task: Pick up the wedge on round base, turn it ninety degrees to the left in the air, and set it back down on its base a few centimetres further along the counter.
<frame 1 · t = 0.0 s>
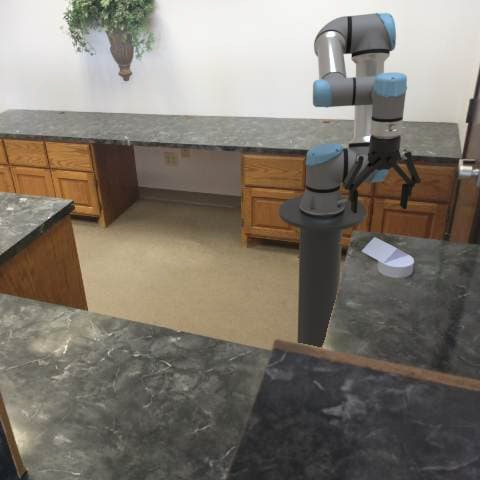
hand: (378, 209, 143), 15 cm above the counter, tool pointing down, fingers open, 13 cm apart
wedge on round base: (389, 267, 144), on the counter
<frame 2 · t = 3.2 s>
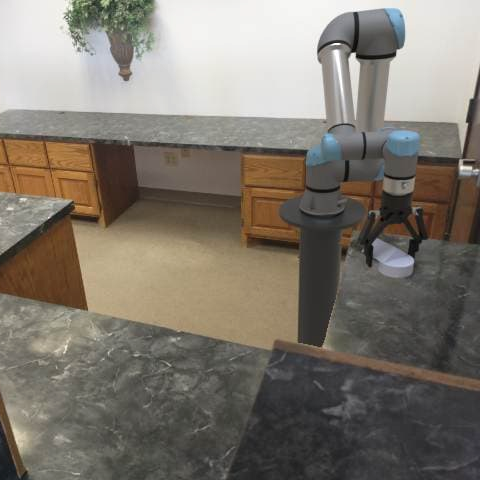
hand: (389, 263, 144), 1 cm above the counter, tool pointing down, fingers closed on wedge on round base, 11 cm apart
wedge on round base: (389, 267, 144), on the counter, touching gripper
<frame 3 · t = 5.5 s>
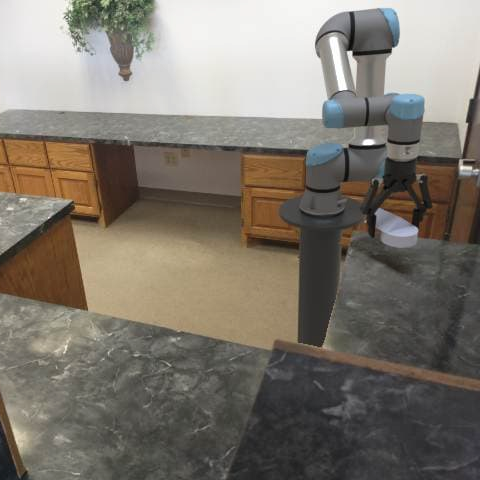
hand: (392, 233, 140), 10 cm above the counter, tool pointing down, fingers closed on wedge on round base, 11 cm apart
wedge on round base: (392, 237, 141), point 9 cm above the counter, touching gripper
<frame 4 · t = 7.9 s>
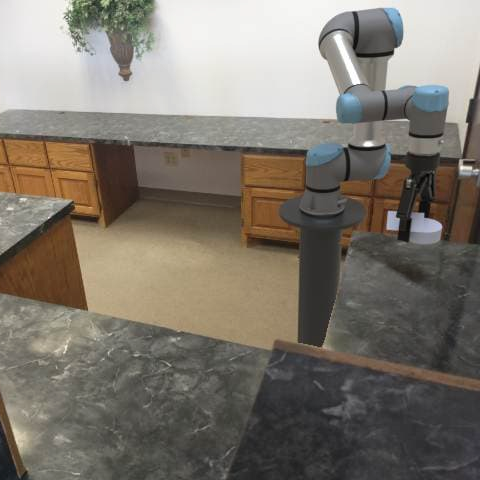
hand: (412, 232, 134), 13 cm above the counter, tool pointing down, fingers closed on wedge on round base, 11 cm apart
wedge on round base: (412, 236, 135), point 12 cm above the counter, touching gripper
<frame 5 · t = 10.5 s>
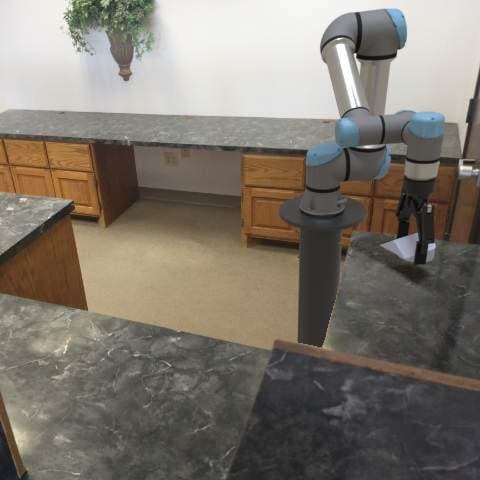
hand: (410, 253, 137), 7 cm above the counter, tool pointing down, fingers closed on wedge on round base, 11 cm apart
wedge on round base: (409, 257, 137), point 5 cm above the counter, touching gripper
when the fingers open (1 cm above the counter, at t = 12.7 s): wedge on round base stays where it is, on the counter.
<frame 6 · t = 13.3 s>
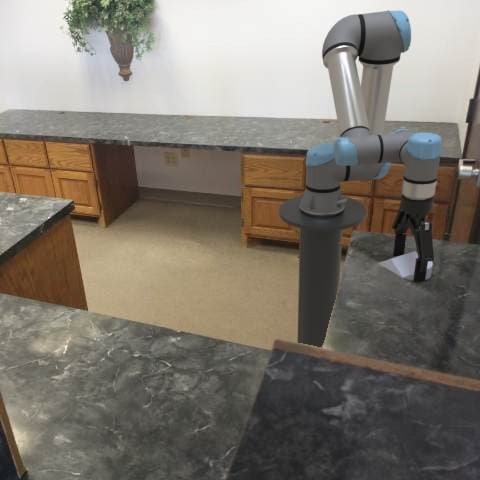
hand: (408, 267, 139), 2 cm above the counter, tool pointing down, fingers open, 13 cm apart
wedge on round base: (407, 275, 140), on the counter
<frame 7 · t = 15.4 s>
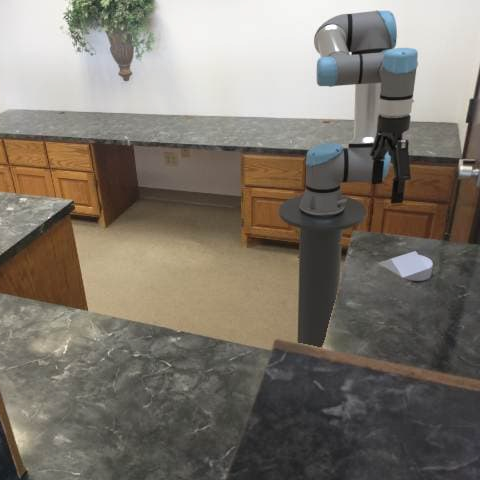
hand: (386, 192, 137), 22 cm above the counter, tool pointing down, fingers open, 13 cm apart
nothing on the counter moved.
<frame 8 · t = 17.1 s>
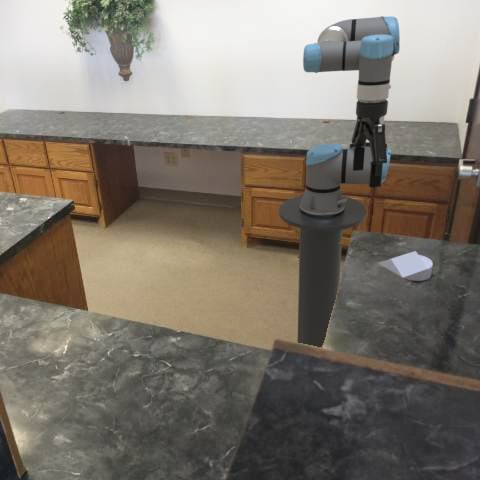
hand: (366, 178, 140), 25 cm above the counter, tool pointing down, fingers open, 13 cm apart
nothing on the counter moved.
at the end: wedge on round base inside the target area (0.1 cm from its centre), on the counter; wedge on round base on the counter; the gripper is holding nothing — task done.
